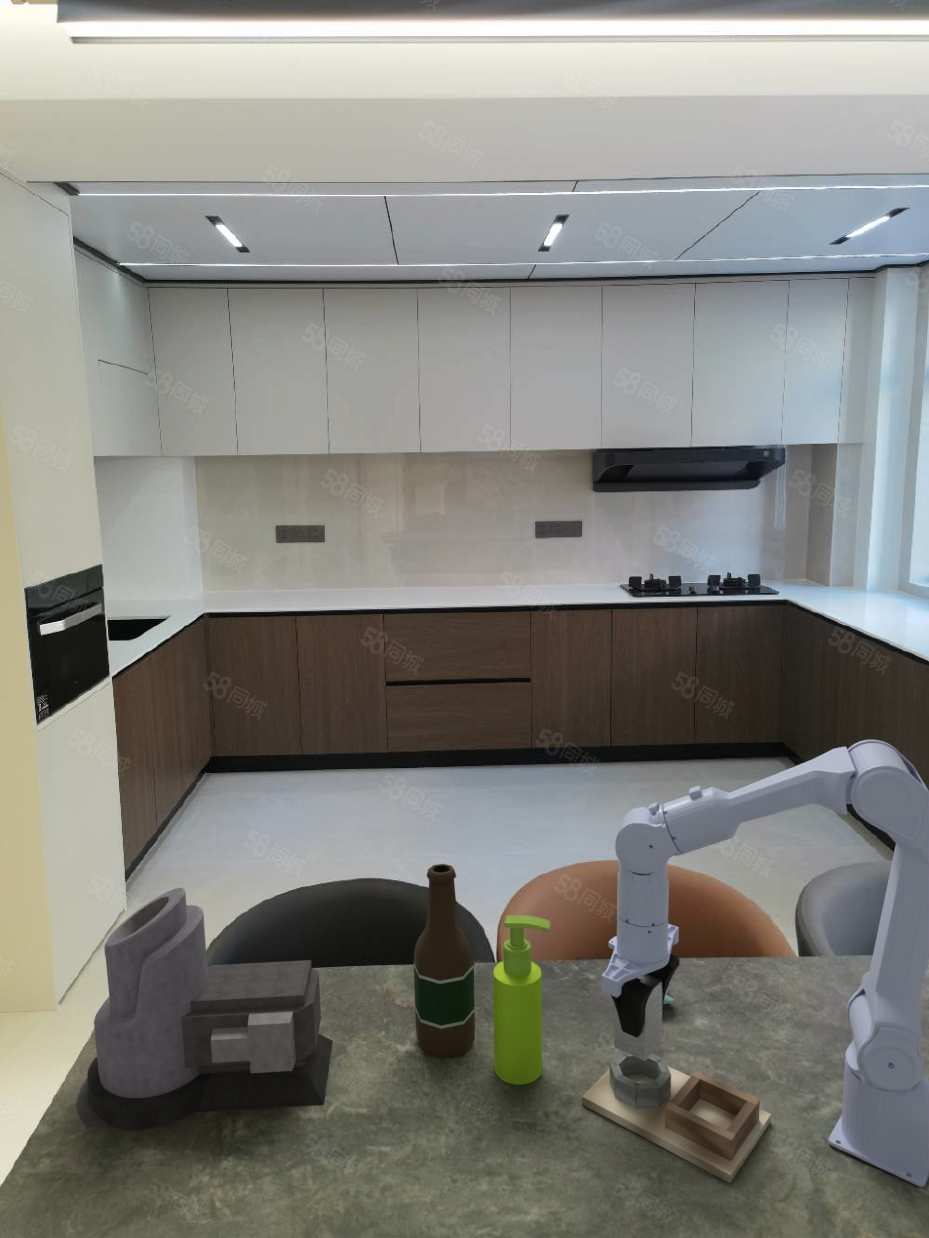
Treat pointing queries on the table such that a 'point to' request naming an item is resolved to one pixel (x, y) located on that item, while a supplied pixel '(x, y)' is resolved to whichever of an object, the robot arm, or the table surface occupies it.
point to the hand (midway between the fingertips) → (640, 1022)
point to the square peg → (644, 1025)
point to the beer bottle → (443, 973)
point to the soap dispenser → (518, 1005)
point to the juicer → (198, 1027)
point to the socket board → (681, 1112)
